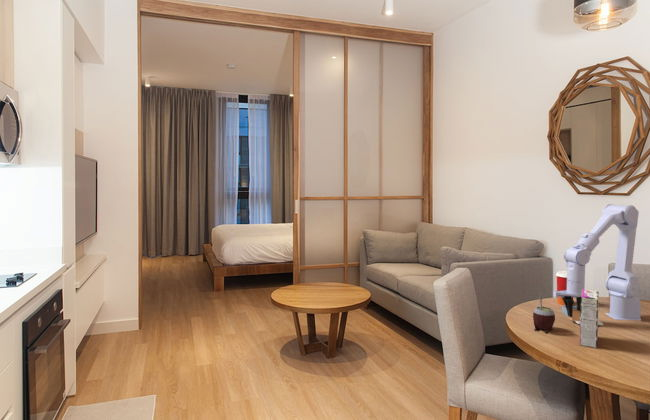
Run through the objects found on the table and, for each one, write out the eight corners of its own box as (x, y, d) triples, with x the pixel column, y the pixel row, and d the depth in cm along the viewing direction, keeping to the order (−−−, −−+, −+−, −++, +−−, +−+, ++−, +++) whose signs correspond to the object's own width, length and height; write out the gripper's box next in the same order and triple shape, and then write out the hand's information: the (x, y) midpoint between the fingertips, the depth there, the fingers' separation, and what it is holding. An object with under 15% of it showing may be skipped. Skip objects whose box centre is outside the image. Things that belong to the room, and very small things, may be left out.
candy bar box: (580, 335, 152) (582, 288, 151) (597, 337, 149) (599, 290, 148) (579, 345, 143) (580, 296, 141) (597, 348, 140) (599, 298, 139)
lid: (593, 320, 166) (594, 308, 166) (603, 326, 159) (604, 314, 159) (566, 319, 167) (566, 307, 167) (574, 325, 160) (575, 312, 160)
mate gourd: (549, 327, 160) (550, 287, 159) (559, 335, 152) (560, 292, 151) (528, 327, 160) (529, 286, 159) (537, 334, 152) (538, 292, 151)
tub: (582, 313, 175) (582, 306, 175) (590, 318, 169) (590, 311, 169) (561, 312, 176) (561, 305, 176) (568, 318, 170) (568, 310, 170)
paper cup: (573, 303, 190) (574, 271, 189) (577, 308, 182) (578, 275, 181) (553, 301, 192) (554, 270, 191) (556, 306, 185) (557, 273, 184)
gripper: (591, 278, 165) (589, 313, 166) (550, 277, 167) (549, 312, 168) (600, 282, 158) (599, 319, 159) (558, 282, 160) (557, 318, 161)
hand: (574, 316), depth 163 cm, fingers closed on lid, 3 cm apart
